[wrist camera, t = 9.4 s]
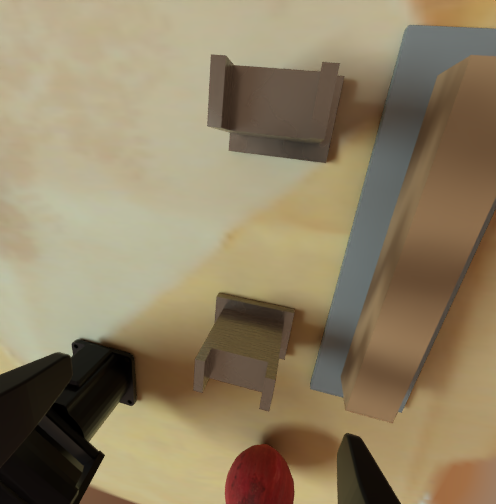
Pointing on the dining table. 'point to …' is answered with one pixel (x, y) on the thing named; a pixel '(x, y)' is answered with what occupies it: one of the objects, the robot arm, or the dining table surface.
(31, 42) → the dining table surface
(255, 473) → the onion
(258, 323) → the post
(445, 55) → the mat
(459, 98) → the rail
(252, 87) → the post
